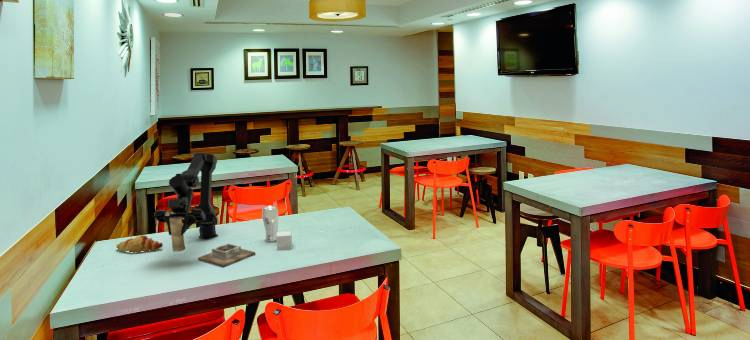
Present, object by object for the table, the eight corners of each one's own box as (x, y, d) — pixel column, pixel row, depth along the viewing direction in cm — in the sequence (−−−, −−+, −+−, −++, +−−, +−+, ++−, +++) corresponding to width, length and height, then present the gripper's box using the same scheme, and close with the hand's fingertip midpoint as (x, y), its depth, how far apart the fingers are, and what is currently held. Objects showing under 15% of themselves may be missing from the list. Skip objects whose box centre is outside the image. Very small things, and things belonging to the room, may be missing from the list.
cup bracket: (230, 247, 204) (229, 239, 203) (255, 254, 195) (254, 245, 194) (198, 259, 191) (197, 250, 190) (223, 267, 182) (222, 257, 181)
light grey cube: (292, 244, 206) (291, 231, 205) (291, 248, 200) (290, 235, 199) (278, 245, 205) (277, 232, 204) (277, 249, 200) (276, 236, 198)
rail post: (180, 246, 189) (177, 215, 187) (187, 248, 187) (183, 217, 185) (170, 250, 186) (167, 218, 183) (177, 252, 183) (173, 220, 181)
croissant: (114, 260, 204) (106, 247, 199) (124, 242, 212) (117, 230, 207) (161, 258, 202) (154, 246, 197) (169, 241, 210) (163, 228, 205)
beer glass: (281, 237, 216) (279, 205, 213) (277, 242, 209) (274, 209, 206) (267, 237, 217) (264, 205, 214) (262, 242, 210) (259, 209, 207)
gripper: (153, 190, 186) (143, 226, 177) (200, 189, 186) (192, 224, 177) (163, 205, 195) (155, 239, 186) (208, 203, 195) (202, 237, 186)
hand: (175, 234), depth 184 cm, fingers closed on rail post, 4 cm apart
